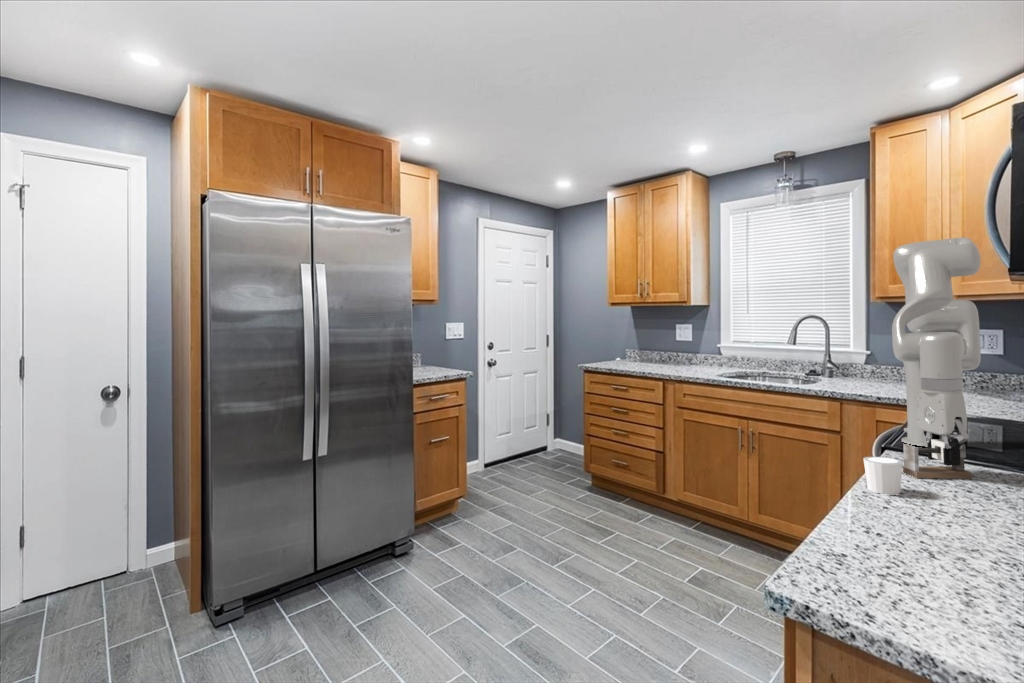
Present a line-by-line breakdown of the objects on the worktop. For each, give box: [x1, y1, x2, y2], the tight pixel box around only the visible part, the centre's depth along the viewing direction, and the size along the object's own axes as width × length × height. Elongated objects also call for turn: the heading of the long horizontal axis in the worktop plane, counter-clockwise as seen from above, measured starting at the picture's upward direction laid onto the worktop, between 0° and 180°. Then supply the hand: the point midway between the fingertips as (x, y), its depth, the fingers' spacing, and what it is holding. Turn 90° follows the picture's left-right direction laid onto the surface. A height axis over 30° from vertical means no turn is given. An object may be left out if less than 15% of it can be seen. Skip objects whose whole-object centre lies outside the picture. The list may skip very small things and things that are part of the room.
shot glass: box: [862, 456, 903, 496], centre depth 108 cm, size 7×7×7 cm
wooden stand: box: [902, 443, 972, 480], centre depth 118 cm, size 5×12×8 cm, turn 82°
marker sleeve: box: [931, 439, 946, 462], centre depth 117 cm, size 4×2×4 cm, turn 172°
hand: (943, 461), depth 117 cm, fingers closed on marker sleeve, 4 cm apart
